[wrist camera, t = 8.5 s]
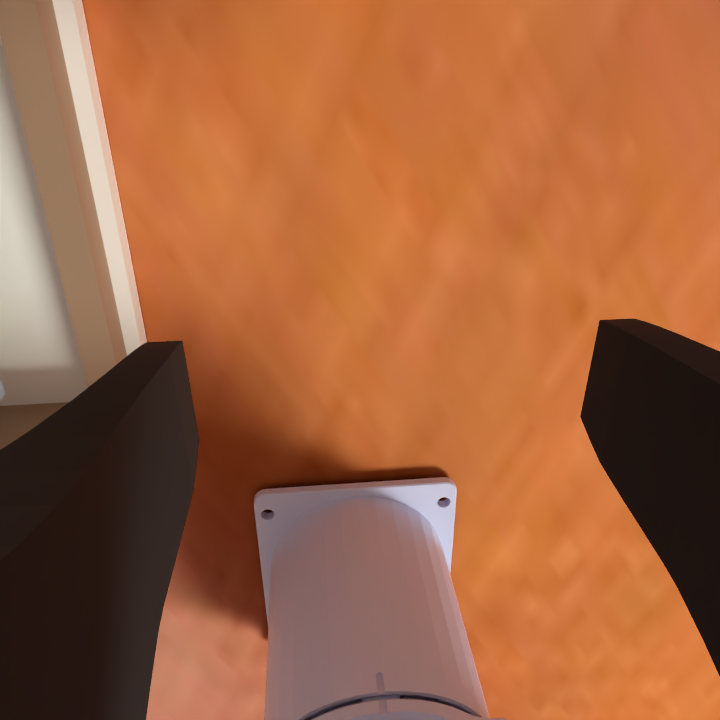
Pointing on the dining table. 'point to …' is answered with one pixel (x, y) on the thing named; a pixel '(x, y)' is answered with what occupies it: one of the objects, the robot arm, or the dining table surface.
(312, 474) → the dining table surface
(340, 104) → the dining table surface
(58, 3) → the peg frame
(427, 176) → the dining table surface
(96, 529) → the robot arm
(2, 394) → the rectangular block
